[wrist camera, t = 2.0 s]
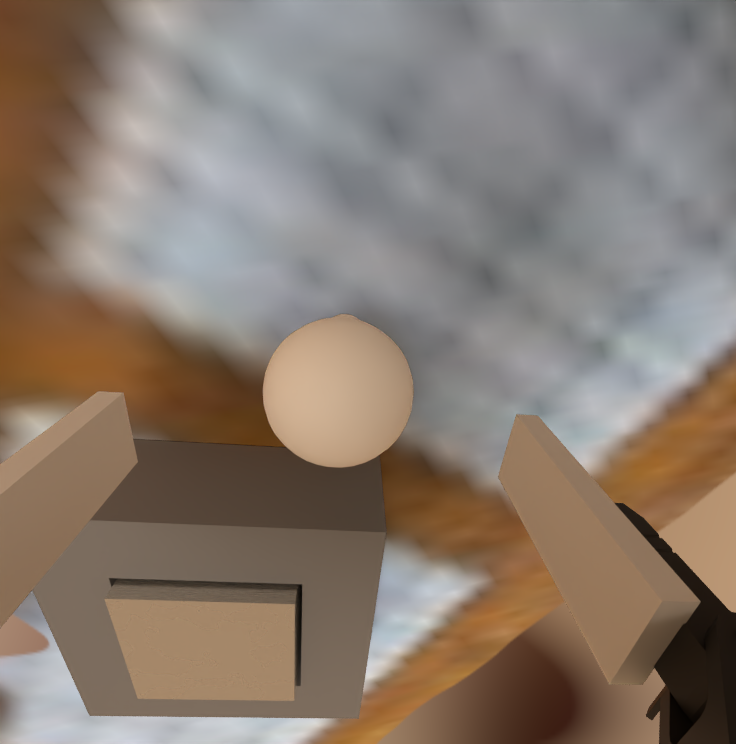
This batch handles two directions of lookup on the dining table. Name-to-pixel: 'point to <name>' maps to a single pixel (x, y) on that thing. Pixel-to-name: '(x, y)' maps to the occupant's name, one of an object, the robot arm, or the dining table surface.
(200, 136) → the dining table surface
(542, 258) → the dining table surface
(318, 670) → the socket block
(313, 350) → the lightbulb
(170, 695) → the tan square tile
